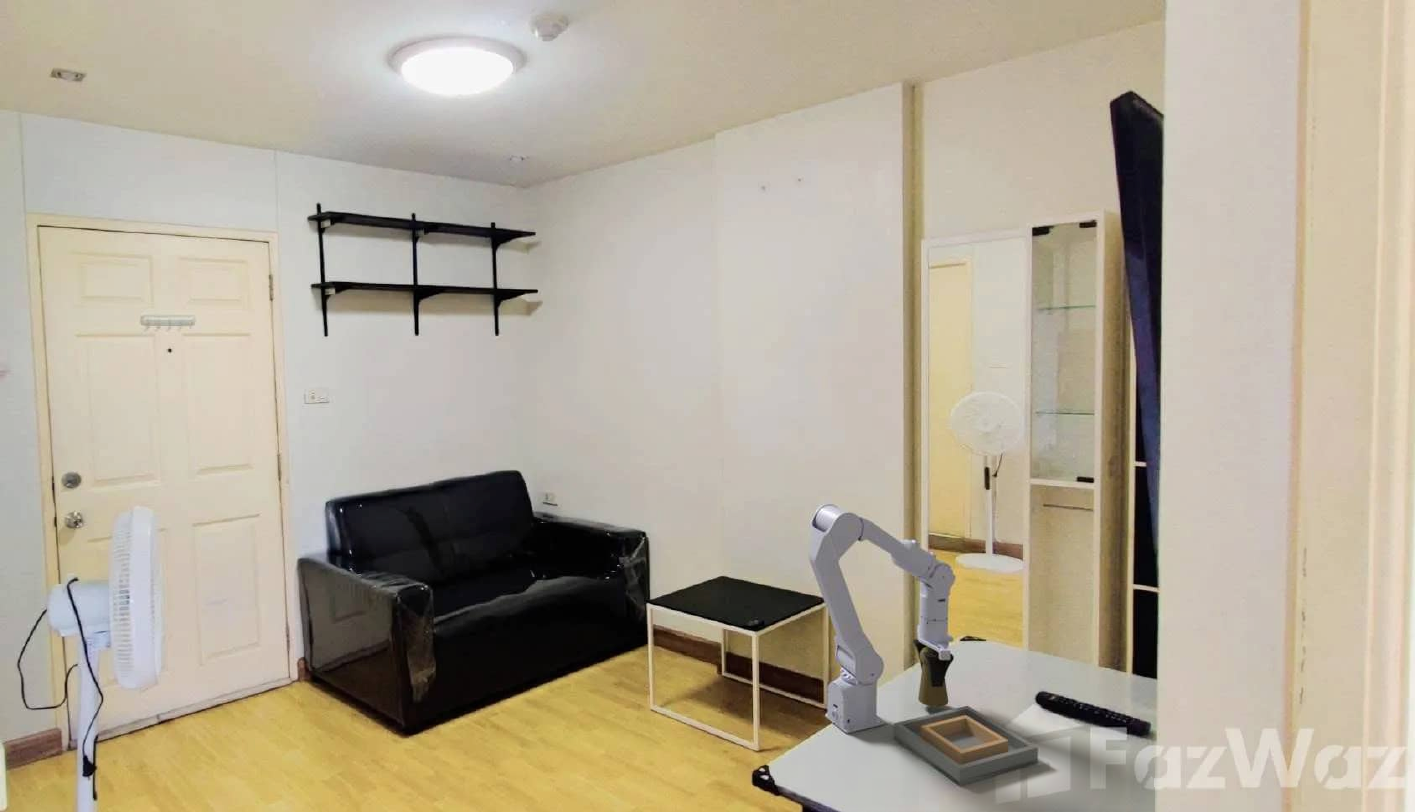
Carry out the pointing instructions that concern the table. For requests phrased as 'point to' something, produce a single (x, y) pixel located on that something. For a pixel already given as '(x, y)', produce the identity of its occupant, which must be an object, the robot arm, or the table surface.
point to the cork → (930, 686)
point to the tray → (965, 744)
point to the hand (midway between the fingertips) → (932, 680)
